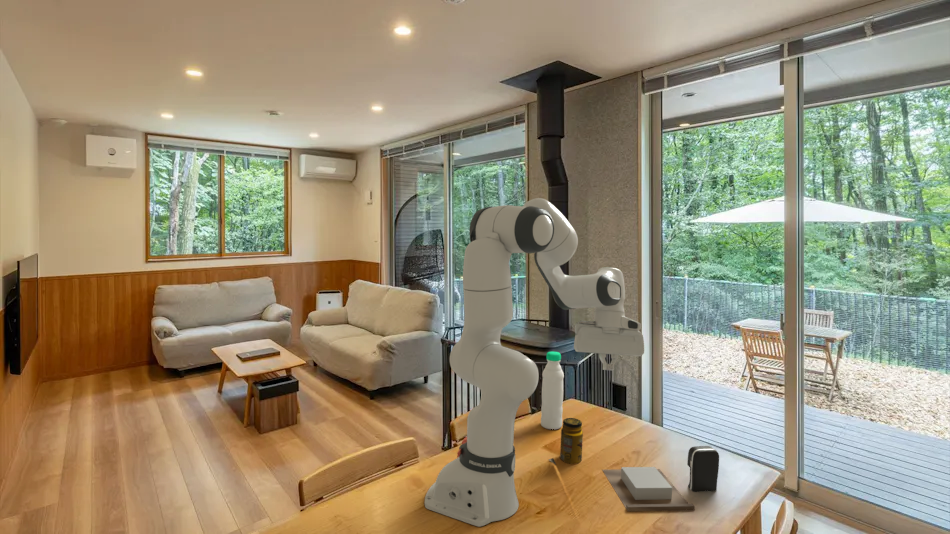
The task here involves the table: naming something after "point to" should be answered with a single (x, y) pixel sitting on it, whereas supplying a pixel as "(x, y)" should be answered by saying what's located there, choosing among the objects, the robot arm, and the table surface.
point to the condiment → (571, 441)
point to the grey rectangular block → (646, 483)
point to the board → (646, 505)
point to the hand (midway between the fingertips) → (608, 370)
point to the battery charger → (703, 468)
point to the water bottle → (552, 392)
